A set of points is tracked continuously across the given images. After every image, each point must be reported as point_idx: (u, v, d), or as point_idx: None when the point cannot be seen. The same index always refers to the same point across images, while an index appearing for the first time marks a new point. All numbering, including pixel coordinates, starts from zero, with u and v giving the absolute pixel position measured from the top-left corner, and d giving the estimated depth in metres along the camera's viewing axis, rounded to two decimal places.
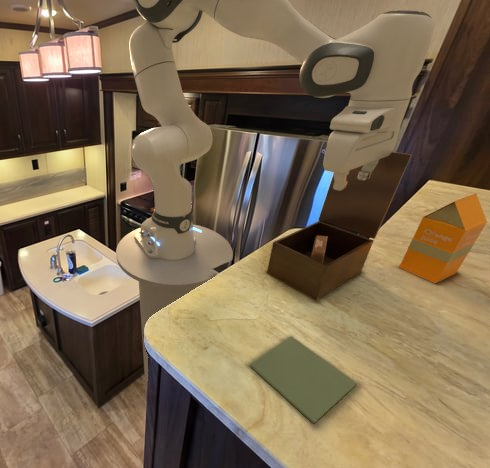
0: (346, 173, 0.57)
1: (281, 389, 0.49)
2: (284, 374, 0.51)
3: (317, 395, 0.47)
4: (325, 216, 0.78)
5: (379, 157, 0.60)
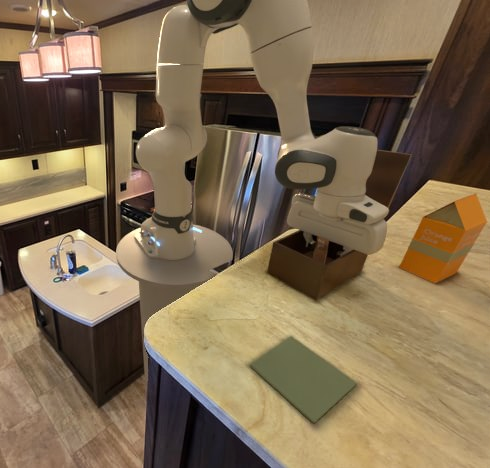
0: None
1: (281, 389, 0.49)
2: (284, 374, 0.51)
3: (317, 395, 0.47)
4: None
5: None
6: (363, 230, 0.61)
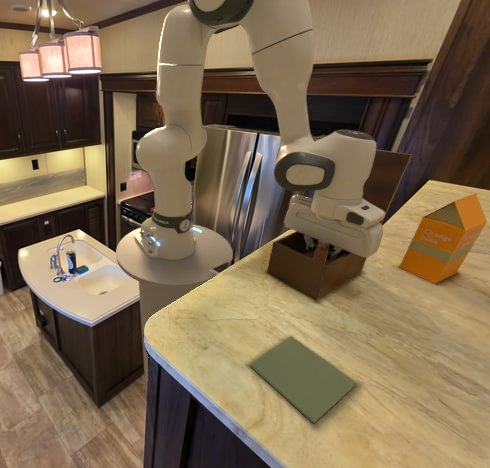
0: None
1: (281, 389, 0.49)
2: (284, 374, 0.51)
3: (317, 395, 0.47)
4: None
5: None
6: (359, 232, 0.62)
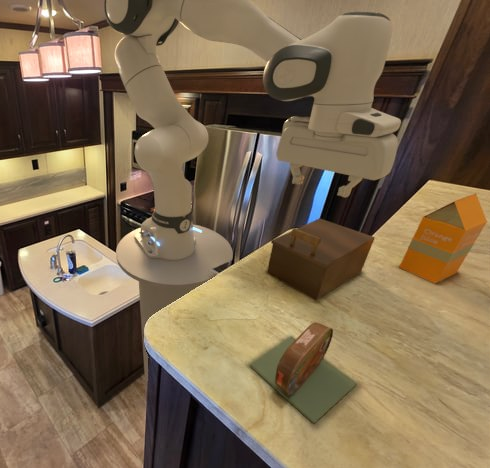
0: None
1: (281, 389, 0.49)
2: None
3: (317, 395, 0.47)
4: None
5: None
6: (368, 147, 0.49)
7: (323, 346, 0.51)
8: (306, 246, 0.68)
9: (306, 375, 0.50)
